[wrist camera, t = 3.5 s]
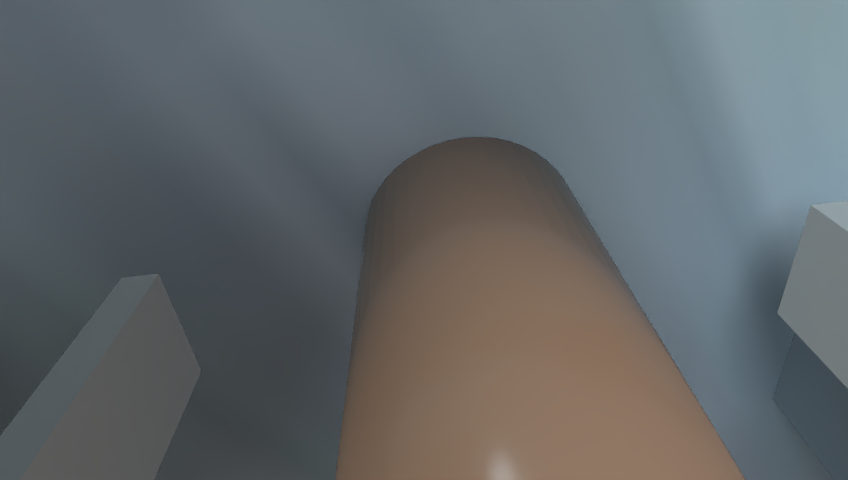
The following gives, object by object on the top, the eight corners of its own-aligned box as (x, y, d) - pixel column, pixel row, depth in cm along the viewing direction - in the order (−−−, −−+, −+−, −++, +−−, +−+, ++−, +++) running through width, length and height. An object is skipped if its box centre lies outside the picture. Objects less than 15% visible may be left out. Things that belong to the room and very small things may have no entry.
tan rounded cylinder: (381, 328, 15) (351, 911, 6) (347, 150, 12) (209, 751, 3) (572, 309, 14) (815, 877, 6) (582, 125, 12) (1053, 679, 3)
